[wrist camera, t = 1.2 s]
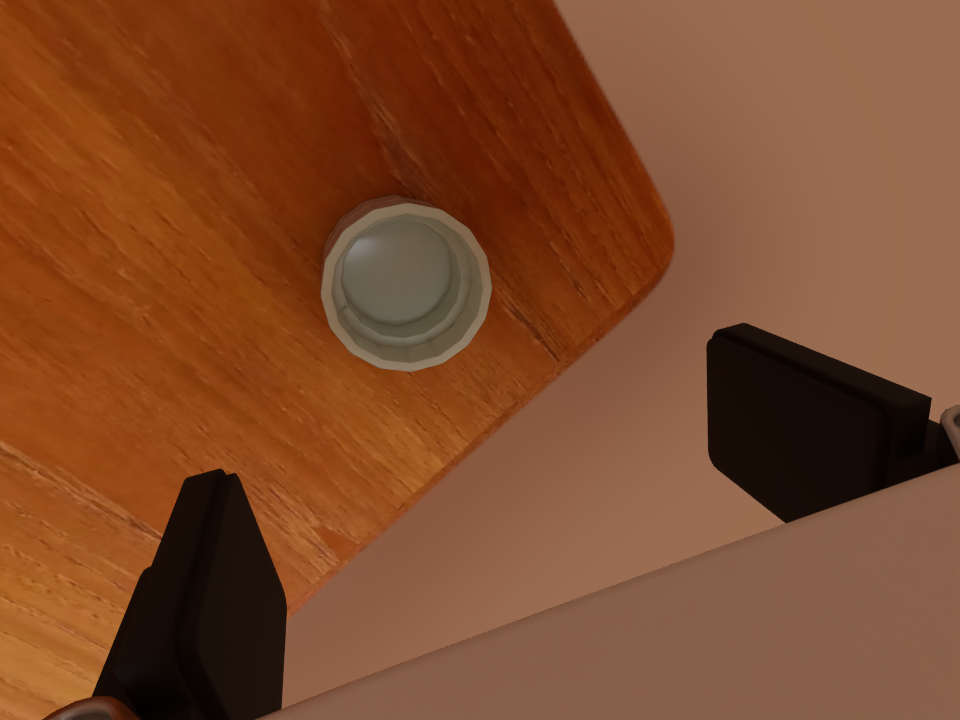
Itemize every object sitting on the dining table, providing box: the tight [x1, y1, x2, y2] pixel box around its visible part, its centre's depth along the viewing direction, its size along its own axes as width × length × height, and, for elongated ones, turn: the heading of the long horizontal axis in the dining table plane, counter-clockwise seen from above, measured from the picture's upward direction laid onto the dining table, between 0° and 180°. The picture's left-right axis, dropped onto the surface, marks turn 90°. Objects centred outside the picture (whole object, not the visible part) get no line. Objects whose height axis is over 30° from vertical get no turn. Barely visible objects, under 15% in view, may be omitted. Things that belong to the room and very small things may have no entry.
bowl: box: [320, 195, 492, 372], centre depth 25 cm, size 7×7×4 cm
